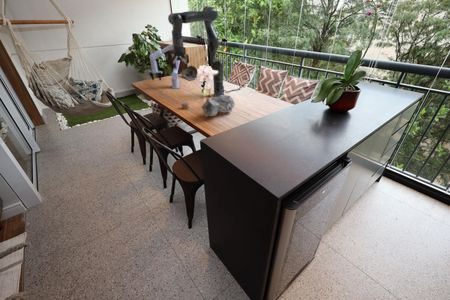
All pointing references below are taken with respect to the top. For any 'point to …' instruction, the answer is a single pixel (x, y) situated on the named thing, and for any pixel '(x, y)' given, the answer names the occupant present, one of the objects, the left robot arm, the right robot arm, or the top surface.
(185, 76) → the bark piece
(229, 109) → the rock
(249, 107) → the top surface
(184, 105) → the block
